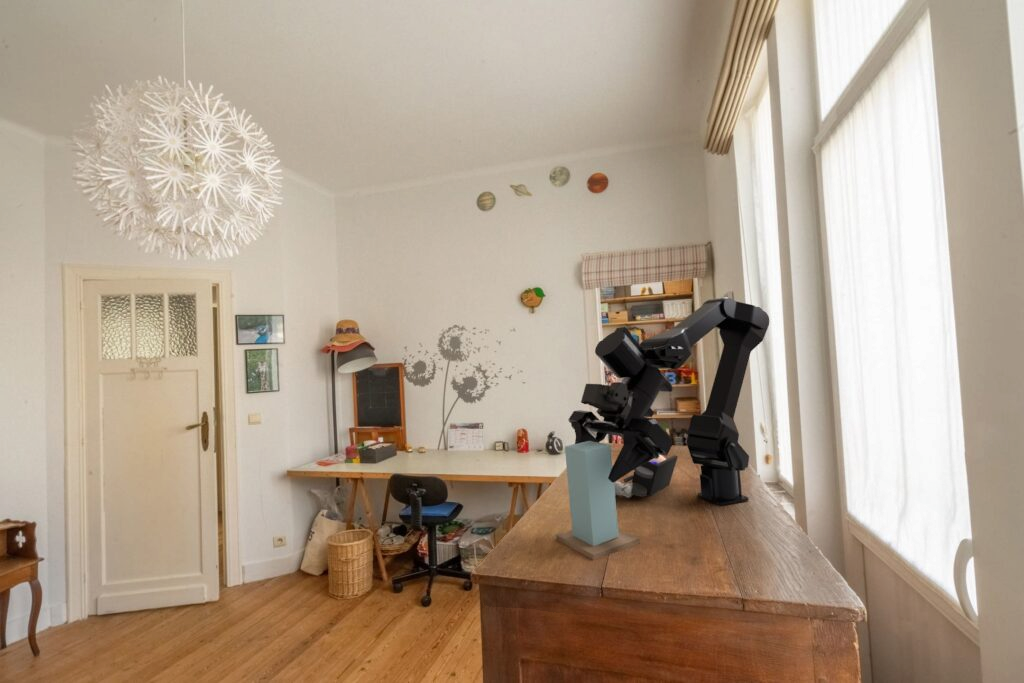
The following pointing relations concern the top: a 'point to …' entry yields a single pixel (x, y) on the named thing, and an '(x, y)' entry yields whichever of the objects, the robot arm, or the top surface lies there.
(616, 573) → the top surface
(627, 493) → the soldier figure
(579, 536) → the pillar
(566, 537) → the base tile
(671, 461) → the character figurine
